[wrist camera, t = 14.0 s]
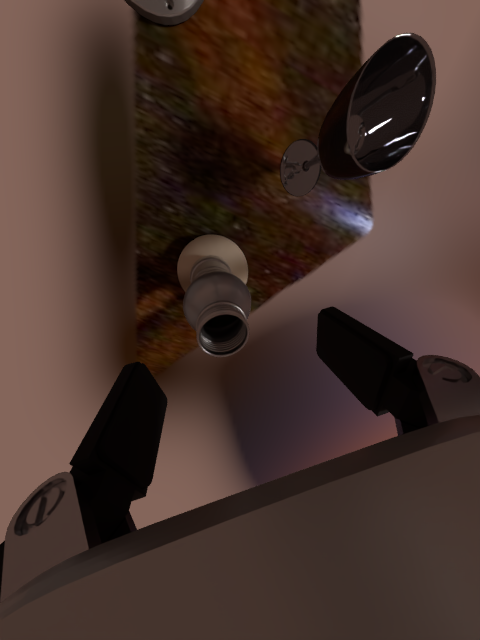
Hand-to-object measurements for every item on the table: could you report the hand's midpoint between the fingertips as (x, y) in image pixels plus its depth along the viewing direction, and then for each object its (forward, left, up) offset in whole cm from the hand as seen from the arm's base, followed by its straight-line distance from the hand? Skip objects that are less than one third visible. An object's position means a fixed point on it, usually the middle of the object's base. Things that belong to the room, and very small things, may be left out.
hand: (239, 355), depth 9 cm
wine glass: (-12, +18, -26) cm, 34 cm away
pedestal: (0, 0, -26) cm, 26 cm away
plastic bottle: (0, -1, -23) cm, 23 cm away
